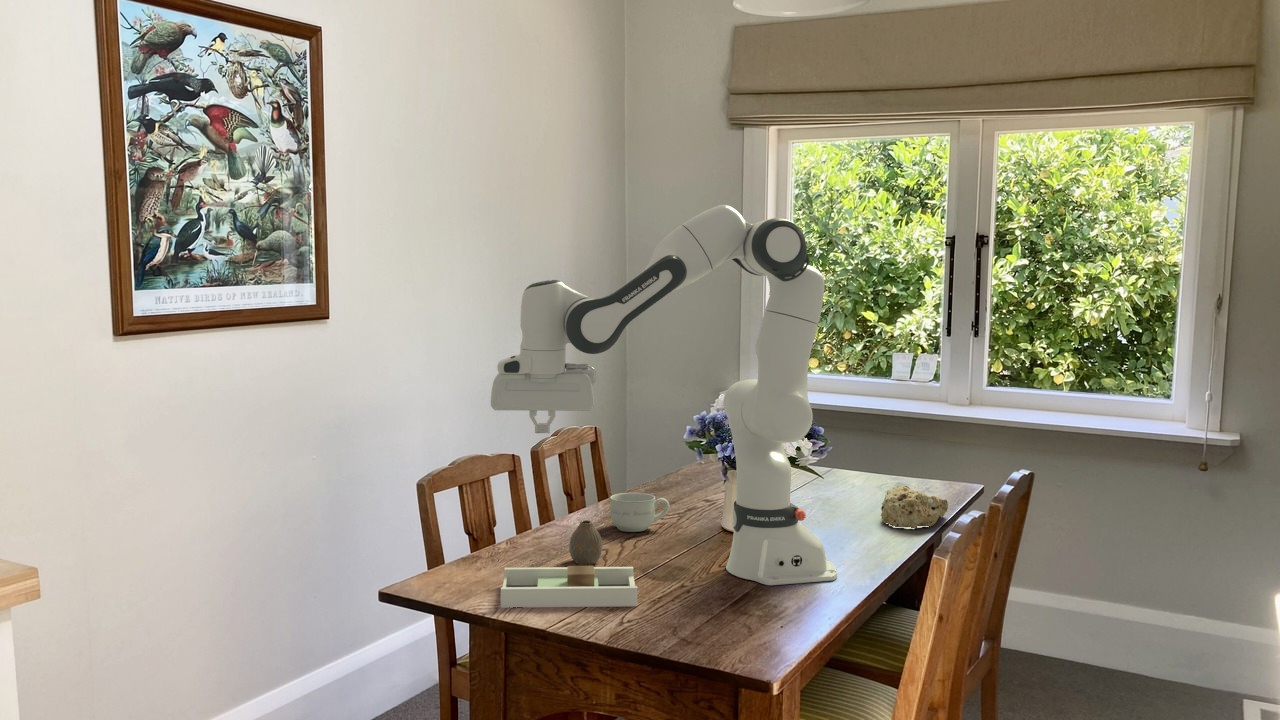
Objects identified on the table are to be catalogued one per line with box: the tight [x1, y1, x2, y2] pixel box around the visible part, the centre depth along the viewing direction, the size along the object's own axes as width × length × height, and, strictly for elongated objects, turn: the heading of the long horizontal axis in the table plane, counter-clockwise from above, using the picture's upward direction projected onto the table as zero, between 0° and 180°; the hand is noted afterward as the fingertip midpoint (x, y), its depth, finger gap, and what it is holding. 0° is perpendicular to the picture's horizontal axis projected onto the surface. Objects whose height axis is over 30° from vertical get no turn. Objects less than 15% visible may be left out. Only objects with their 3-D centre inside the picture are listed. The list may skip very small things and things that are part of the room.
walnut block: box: [567, 565, 595, 587], centre depth 184 cm, size 5×5×3 cm
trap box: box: [500, 566, 639, 609], centre depth 184 cm, size 25×12×4 cm, turn 94°
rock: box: [880, 485, 949, 529], centre depth 240 cm, size 21×14×10 cm
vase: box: [568, 520, 603, 566], centre depth 204 cm, size 7×7×9 cm
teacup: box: [609, 492, 671, 533], centre depth 228 cm, size 14×11×8 cm
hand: (542, 432), depth 192 cm, fingers closed
